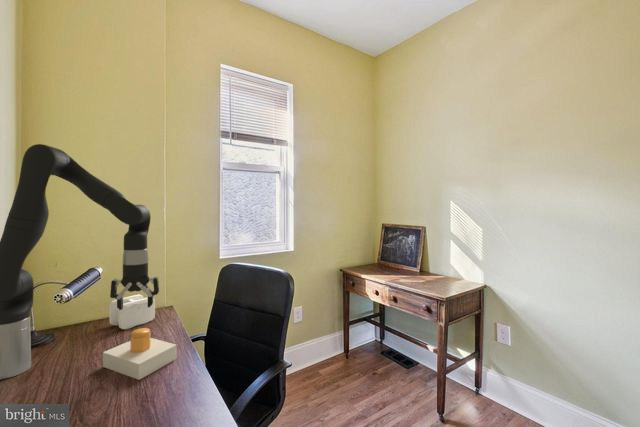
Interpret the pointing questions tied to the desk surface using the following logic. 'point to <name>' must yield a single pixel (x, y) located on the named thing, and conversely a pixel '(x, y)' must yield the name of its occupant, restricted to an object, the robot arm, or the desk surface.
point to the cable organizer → (131, 312)
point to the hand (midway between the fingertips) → (135, 308)
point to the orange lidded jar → (140, 340)
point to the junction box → (139, 358)
